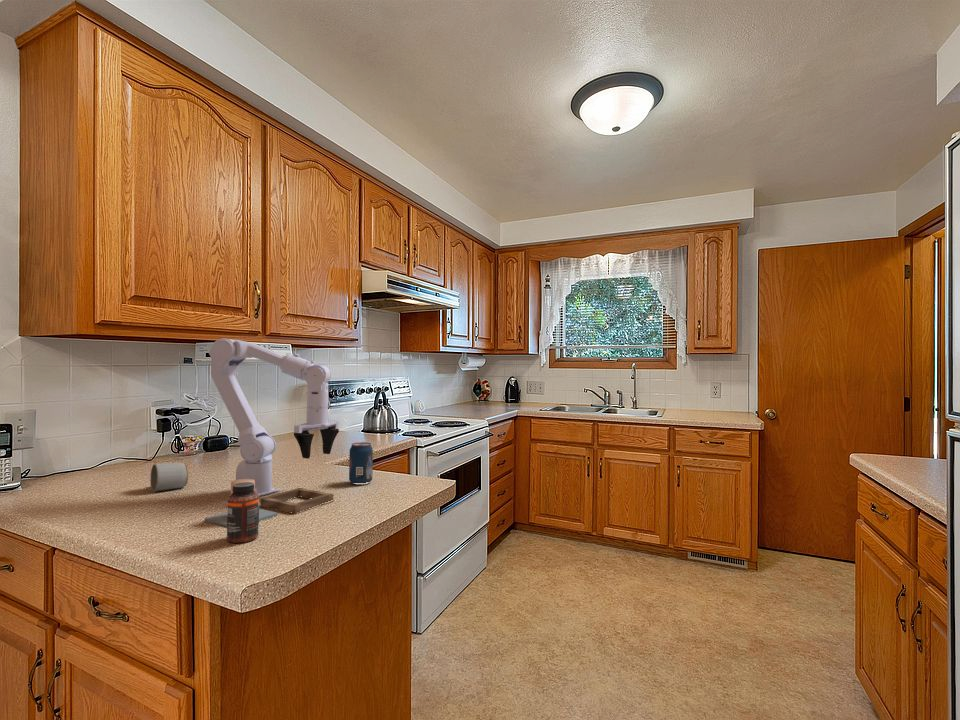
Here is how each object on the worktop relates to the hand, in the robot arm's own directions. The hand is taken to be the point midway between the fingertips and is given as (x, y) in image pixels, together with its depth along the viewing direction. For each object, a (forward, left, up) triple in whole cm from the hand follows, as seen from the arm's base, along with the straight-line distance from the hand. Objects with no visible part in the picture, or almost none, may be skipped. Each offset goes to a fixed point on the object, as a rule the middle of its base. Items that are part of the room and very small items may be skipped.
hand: (316, 455), depth 135 cm
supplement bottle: (+14, -33, -11) cm, 37 cm away
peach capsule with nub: (+2, -25, -10) cm, 26 cm away
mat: (+2, -25, -10) cm, 27 cm away
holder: (+4, -10, -10) cm, 15 cm away
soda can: (+3, +15, -11) cm, 19 cm away
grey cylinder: (-40, -18, -11) cm, 45 cm away
